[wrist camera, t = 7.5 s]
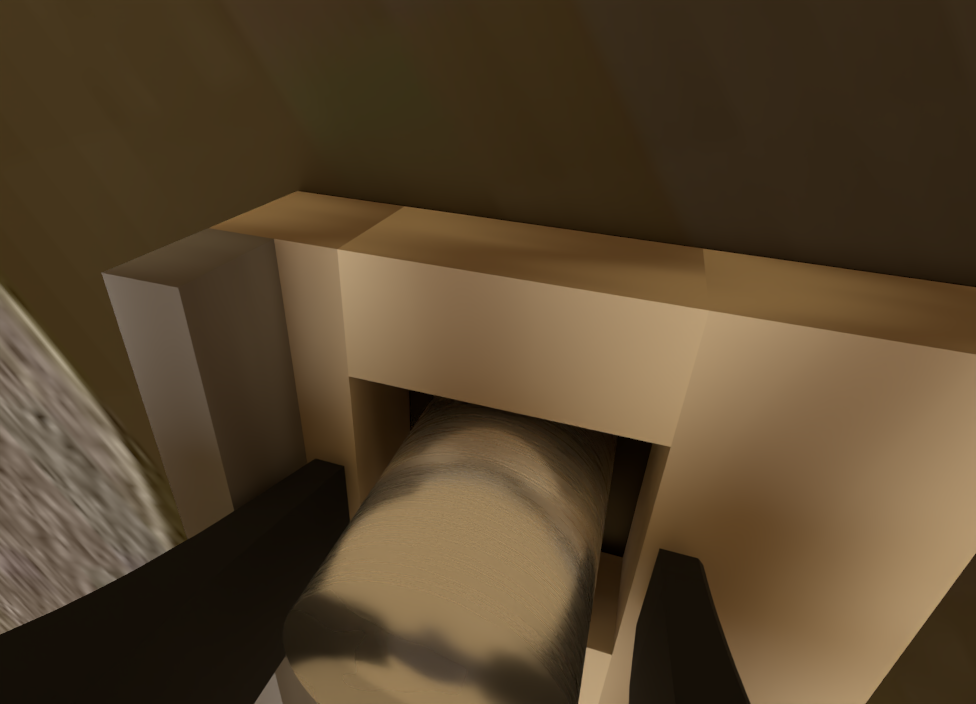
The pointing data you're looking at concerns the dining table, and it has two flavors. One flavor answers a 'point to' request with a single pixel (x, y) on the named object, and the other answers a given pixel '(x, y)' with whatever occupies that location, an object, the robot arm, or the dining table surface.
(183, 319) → the jig
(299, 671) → the beige cylinder
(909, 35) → the dining table surface
